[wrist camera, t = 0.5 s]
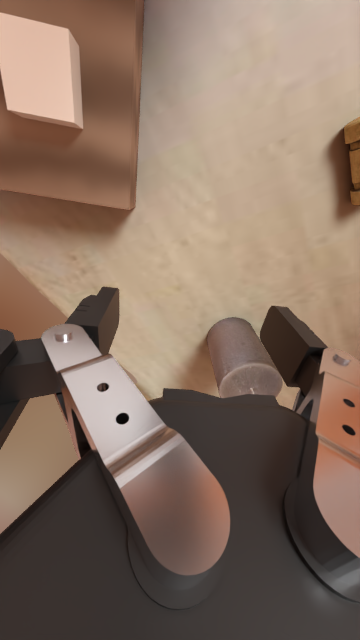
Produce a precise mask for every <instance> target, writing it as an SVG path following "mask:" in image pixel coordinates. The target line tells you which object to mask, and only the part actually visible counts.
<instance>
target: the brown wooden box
mask: <svg viewBox="0 0 360 640" xmlns="http://www.w3.org/2000/svg"><path fill="white" fill-rule="evenodd" d="M0 12H1V13H5V14H9V15H13V16H17V17H21V18H26V19H30V20H34V21H38V22H42V23H46V24H50V25H54V26H59V27H63V28H67V29H69V31H70V32H71V34H72V36H73V37H74V39H75V41H76V42H77V44H78V45H79V56H80V75H81V95H82V114H83V129H79V128H74V127H69V126H64V125H58V124H53V123H48V122H43V121H38V120H33V119H28V118H23V117H21V116H19V115H17V114H15V113H13V112H11V111H9V110H7V105H6V99H5V93H4V88H3V82H2V76H1V71H0V190H7V191H13V192H19V193H25V194H32V195H38V196H44V197H50V198H57V199H63V200H69V201H76V202H82V203H88V204H94V205H101V206H107V207H113V208H119V209H126V210H130V209H132V208H135V203H136V181H137V158H138V135H139V113H140V90H141V67H142V45H143V22H144V0H0Z"/></svg>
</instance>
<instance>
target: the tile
mask: <svg viewBox="0 0 360 640" xmlns="http://www.w3.org/2000/svg"><path fill="white" fill-rule="evenodd" d="M0 71H1V76H2V82H3V88H4V93H5V99H6V105H7V110H9V111H11V112H13V113H15V114H17V115H19V116H21V117H23V118H28V119H33V120H38V121H43V122H48V123H53V124H58V125H64V126H69V127H74V128H79V129H83V114H82V95H81V75H80V56H79V45H78V44H77V42H76V41H75V39H74V37H73V36H72V34H71V32H70V31H69V29H67V28H63V27H59V26H54V25H50V24H46V23H42V22H38V21H34V20H30V19H26V18H21V17H17V16H13V15H9V14H5V13H1V12H0Z"/></svg>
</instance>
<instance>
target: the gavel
mask: <svg viewBox="0 0 360 640" xmlns="http://www.w3.org/2000/svg"><path fill="white" fill-rule="evenodd" d="M344 135H345V144H348V143H350V149H351V150H350V151H349V155H350V165H351V176H352V183H354V188H352V189H351V190H350V194H351V203H352V204H353V205H360V117H358V118H357V119H355V120H353V121H351V122H350V123H348V124H347V125H346V126H345V127H344Z"/></svg>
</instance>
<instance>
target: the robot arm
mask: <svg viewBox="0 0 360 640" xmlns="http://www.w3.org/2000/svg"><path fill="white" fill-rule="evenodd" d="M118 324H119V289H118V288H111V287H102V288H101V290H100V291H99V293H98V294H97V296H96V295H90V296H88V297H86V298H84V299H83V300H82V301H81V303H80V304H79V306H78V307H77V308H76V309H75V311H74V312H73V313H72V314H71V316H70V317H69V318H68V320H67V321H66V322H65V324H61V325H57V326H53V327H51V328H49V329H47V330H46V331H45V332H44V333H43V334H42V336H41V338H39V339H32V340H22V341H15V338H14V335H13V333H11V332H10V331H8V330H2V329H0V449H1V447H2V446H3V444H4V442H5V440H6V439H7V437H8V435H9V433H10V431H11V430H12V428H13V426H14V425H15V423H16V421H17V419H18V417H19V416H20V414H21V413H22V411H23V409H24V407H25V405H26V404H27V402H28V400H29V399H30V398H34V397H39V396H44V395H49V394H55V397H56V400H57V402H58V405H59V407H60V409H61V412H62V414H63V417H64V419H65V422H66V424H67V427H68V429H69V432H70V435H71V438H72V441H73V445H74V448H75V451H76V453H77V456H78V458H79V460H78V461H77V462H76V463H75V464H74V465H73V466H72V467H71V468H70V469H69V470H68V471H67V472H66V473H65V474H64V475H63V476H62V477H60V478H59V479H58V480H57V481H56V482H55V483H54V484H53V485H52V486H51V487H50V488H49V489H48V490H47V491H46V492H45V493H43V494H42V495H41V496H40V497H39V498H38V499H37V500H36V501H35V502H34V503H33V504H32V505H31V506H30V507H29V508H28V509H27V510H25V511H24V512H23V513H22V514H21V515H20V516H19V517H18V518H17V519H16V520H15V521H14V522H13V523H12V524H11V525H9V527H7V528H6V529H5V530H4V531H3V532H2V533H1V534H0V640H360V362H359V361H358V360H357V359H356V358H354V357H353V356H352V355H350V354H348V353H346V352H344V351H342V350H339V349H335V348H328V347H327V346H326V345H325V344H324V343H323V342H322V341H321V340H320V339H319V338H318V337H317V336H316V335H315V334H314V332H313V331H312V330H310V328H309V327H308V326H307V325H306V324H305V323H304V322H302V321H301V320H299V319H298V318H297V317H296V316H295V315H294V314H293V313H292V312H291V311H290V309H289V308H287V307H281V306H271V307H270V309H269V310H268V313H267V316H266V318H265V321H264V323H263V326H262V328H261V331H260V339H261V342H262V344H263V345H264V347H265V349H266V350H267V352H268V354H269V356H270V357H271V359H272V361H273V363H274V364H275V366H276V368H277V370H278V371H279V373H280V375H281V376H282V378H283V380H284V382H285V383H286V385H287V387H300V390H299V392H298V393H297V396H296V399H295V402H294V406H293V409H292V410H290V409H288V408H286V407H283V406H280V405H279V404H278V402H277V400H276V398H275V396H273V395H258V394H244V395H239V396H233V397H227V398H219V397H215V396H211V395H208V394H204V393H200V392H197V391H193V390H182V389H167V388H164V390H163V396H162V397H161V398H156V399H153V400H150V401H147V400H146V399H145V398H144V396H143V395H142V394H141V392H140V391H139V390H138V388H137V387H136V386H135V385H134V383H133V382H132V381H131V379H130V378H129V377H128V375H127V374H126V373H125V371H124V370H123V369H122V368H121V366H120V365H119V364H118V362H117V361H116V360H115V358H114V357H113V356H112V355H111V354H108V352H109V349H110V347H111V344H112V341H113V339H114V336H115V333H116V330H117V328H118Z"/></svg>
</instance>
